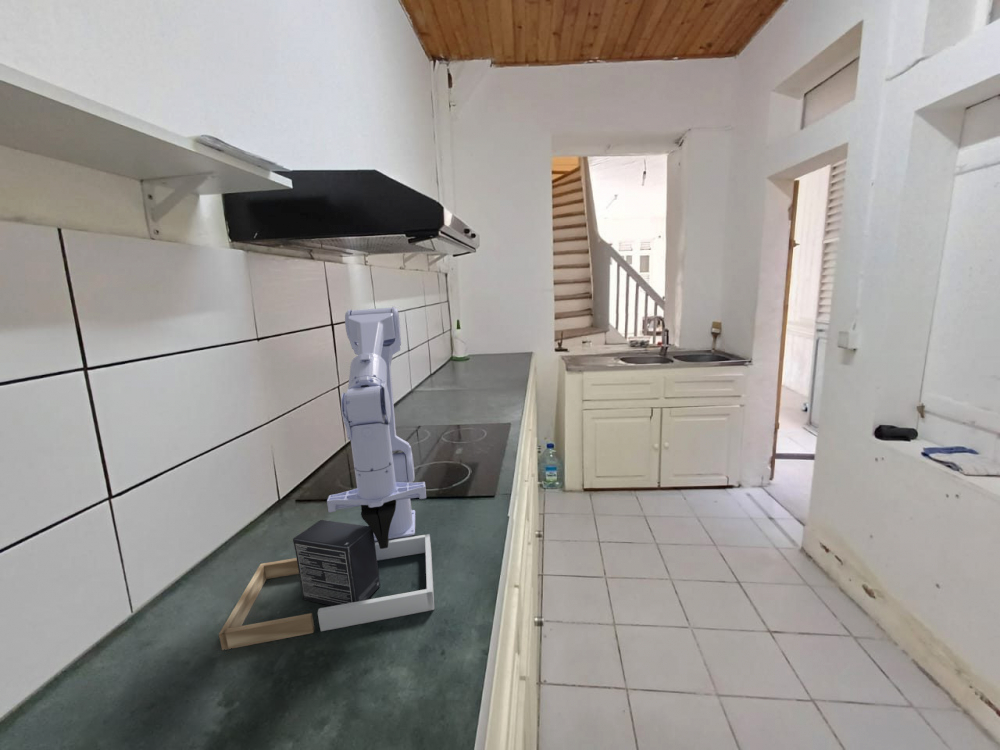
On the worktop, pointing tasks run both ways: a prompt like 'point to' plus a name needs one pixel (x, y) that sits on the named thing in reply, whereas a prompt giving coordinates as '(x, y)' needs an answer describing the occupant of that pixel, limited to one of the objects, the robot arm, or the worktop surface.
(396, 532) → the robot arm
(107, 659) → the worktop surface
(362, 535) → the small box
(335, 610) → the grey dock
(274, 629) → the block
